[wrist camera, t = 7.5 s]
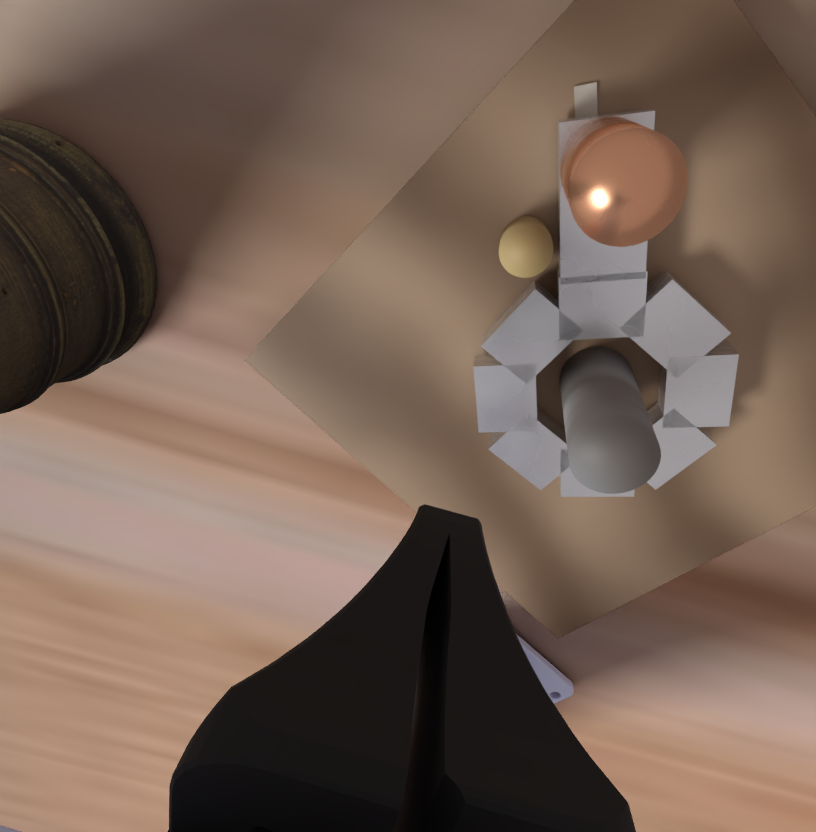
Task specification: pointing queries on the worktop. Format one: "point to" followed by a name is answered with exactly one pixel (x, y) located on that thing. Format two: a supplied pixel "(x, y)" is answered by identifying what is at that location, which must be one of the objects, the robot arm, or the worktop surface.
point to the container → (64, 265)
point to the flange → (608, 307)
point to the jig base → (588, 358)
